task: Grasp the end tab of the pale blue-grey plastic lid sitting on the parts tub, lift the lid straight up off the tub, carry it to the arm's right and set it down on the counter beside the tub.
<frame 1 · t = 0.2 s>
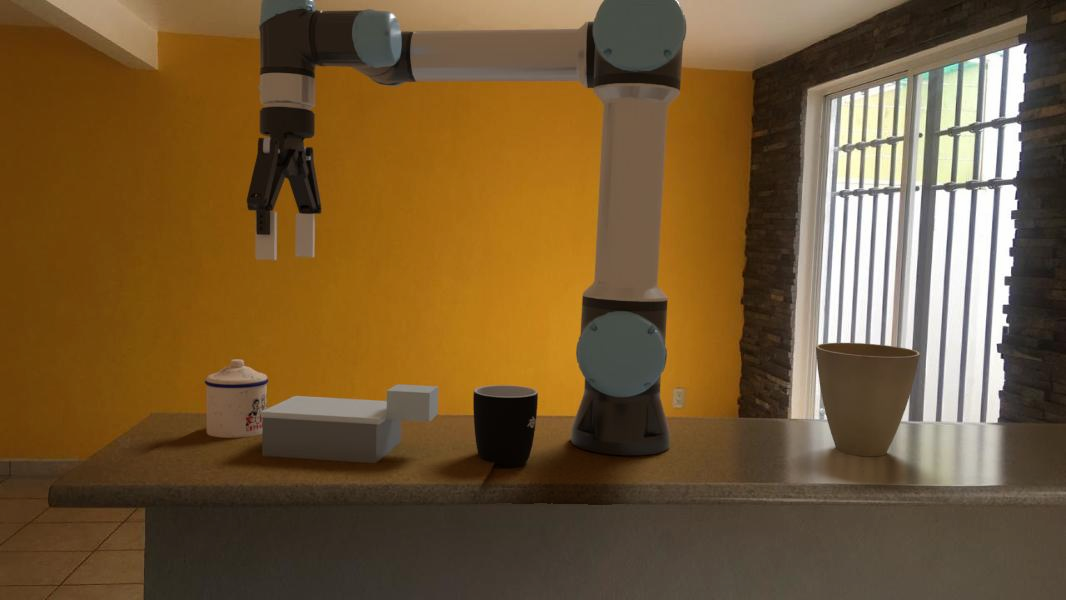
hand: (286, 258, 124), 27 cm above the worktop, fingers open, 13 cm apart
part b: (317, 442, 126), point 1 cm above the worktop, touching tub
mug: (504, 460, 123), on the worktop
plant pot: (860, 452, 134), on the worktop
part a: (363, 445, 125), point 1 cm above the worktop, touching tub
tub: (334, 453, 123), on the worktop
lid: (334, 412, 122), point 6 cm above the worktop, touching tub
teacup with lid: (240, 434, 133), on the worktop
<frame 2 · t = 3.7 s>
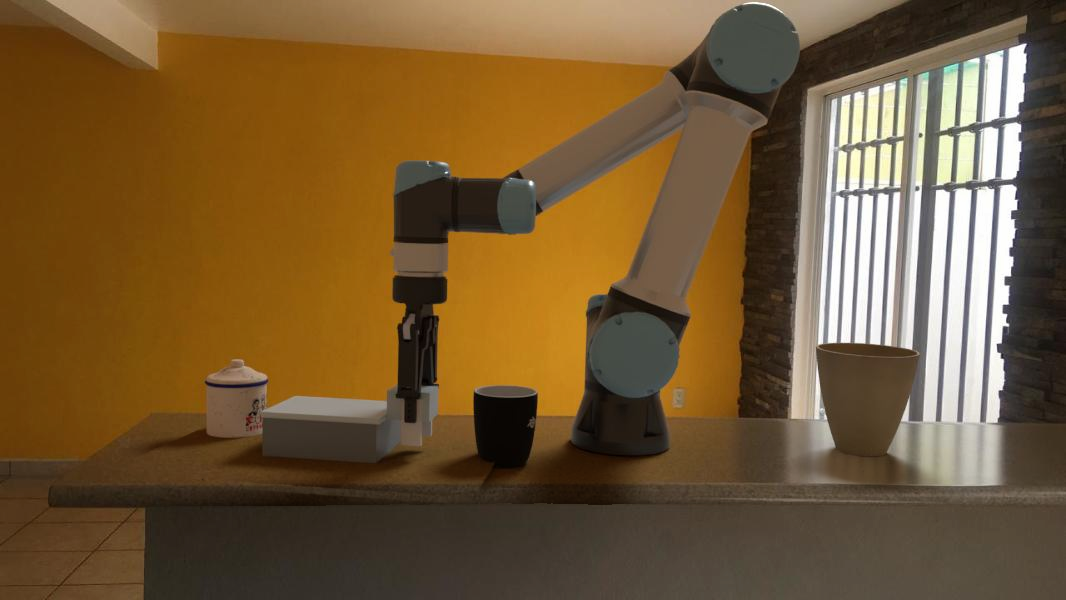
hand: (417, 439, 121), 3 cm above the worktop, fingers closed on lid, 5 cm apart
lid: (334, 412, 122), point 6 cm above the worktop, touching gripper, tub
everything else where it was.
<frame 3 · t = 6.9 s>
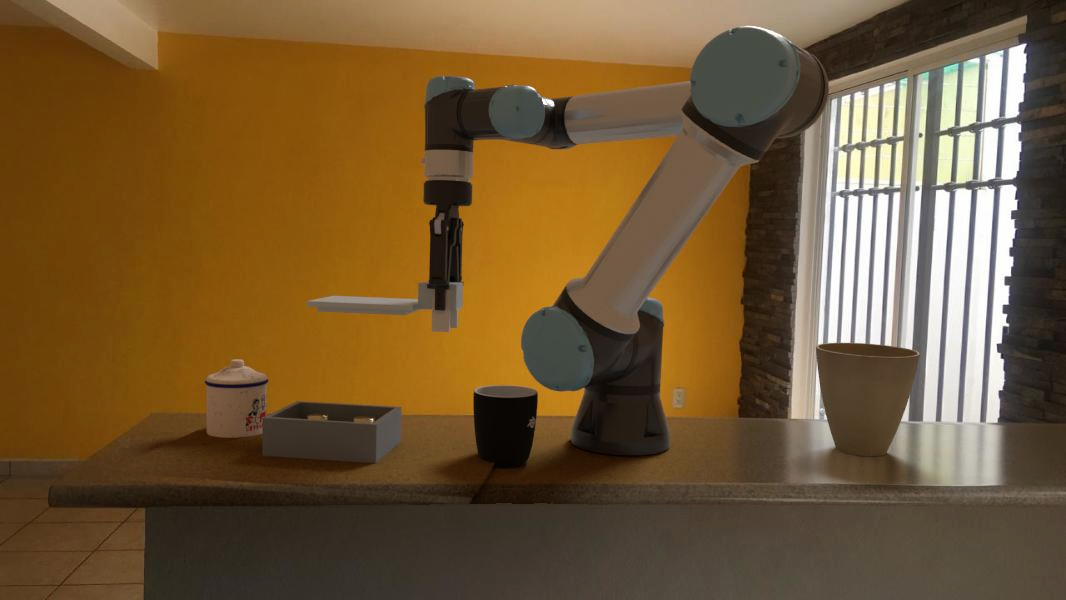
hand: (444, 329, 136), 17 cm above the worktop, fingers closed on lid, 5 cm apart
lid: (370, 305, 137), point 20 cm above the worktop, touching gripper
everything else where it was.
when the fingers open (2 cm above the worktop, at t = 10.3 s): lid drops 4 cm, on the worktop.
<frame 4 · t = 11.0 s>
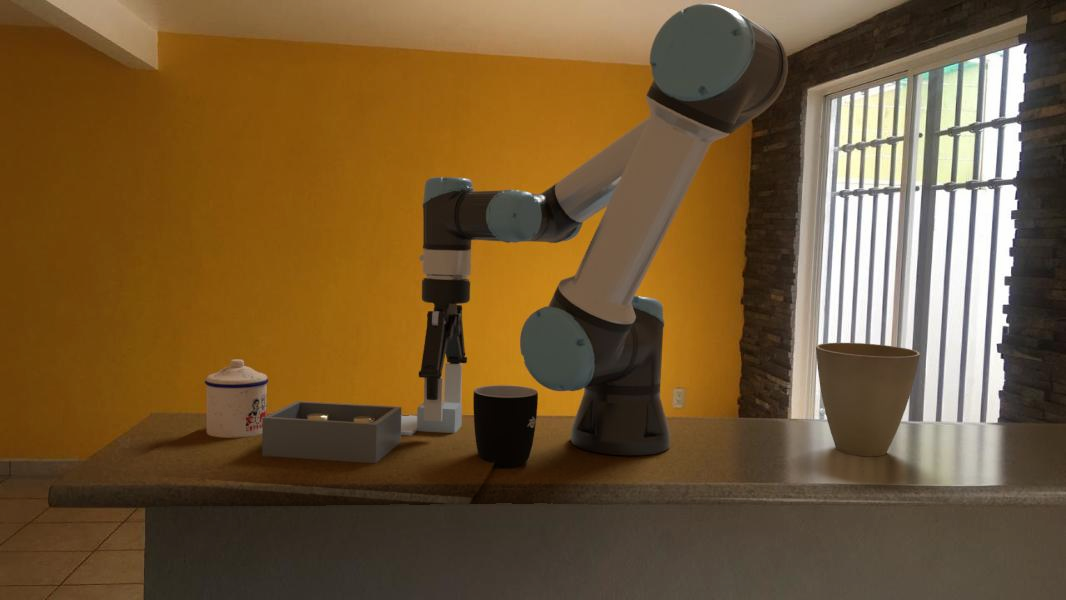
hand: (443, 411, 137), 4 cm above the worktop, fingers open, 13 cm apart
lid: (370, 425, 139), on the worktop
everything else where it was.
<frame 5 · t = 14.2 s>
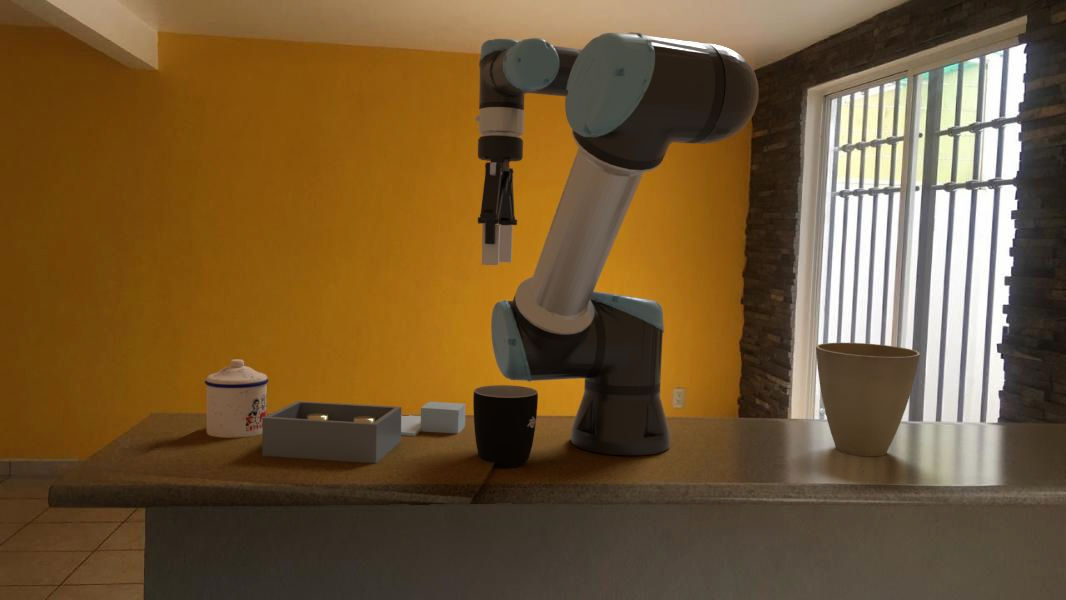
hand: (497, 263, 146), 27 cm above the worktop, fingers open, 13 cm apart
nothing on the worktop moved.
at the end: lid inside the target area (1.0 cm from its centre), point 0.5 cm above the worktop; lid touching worktop; the gripper is holding nothing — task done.
